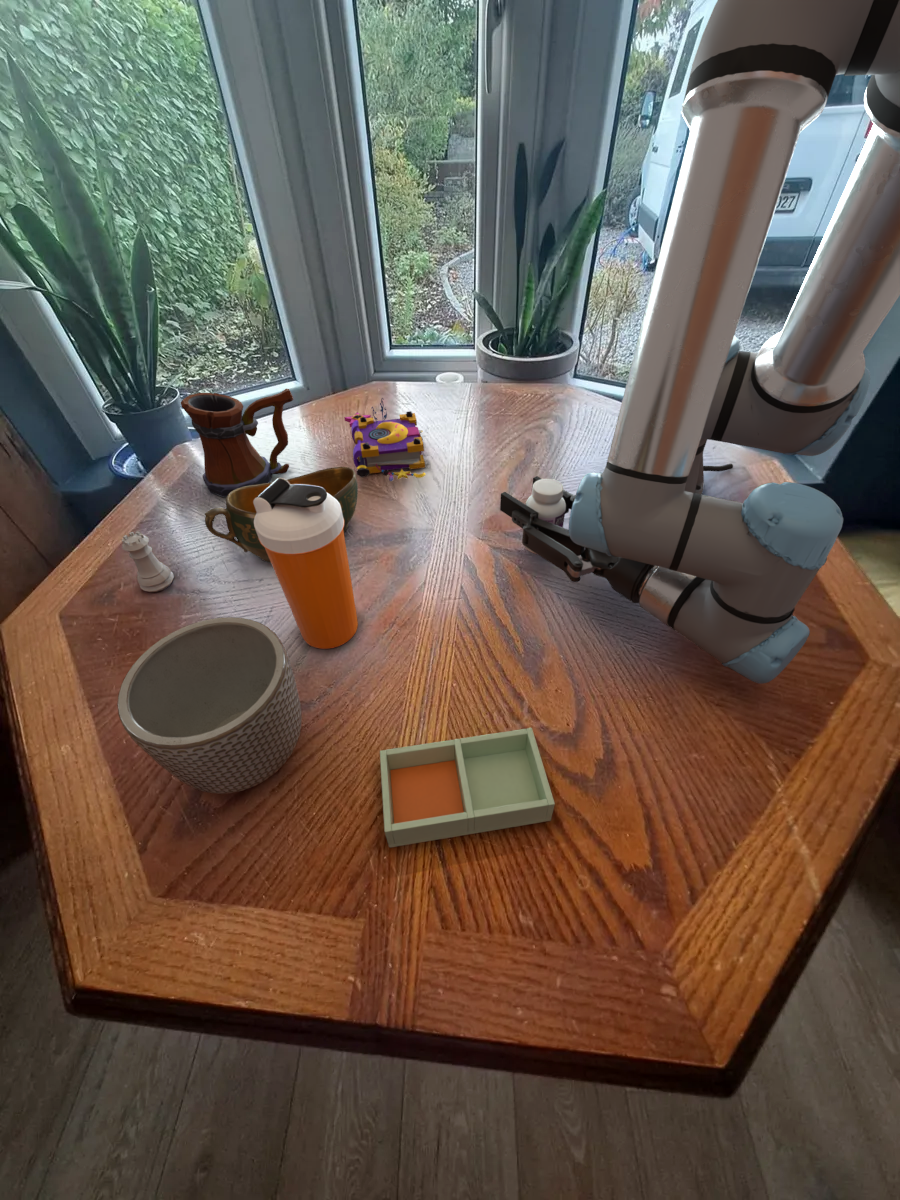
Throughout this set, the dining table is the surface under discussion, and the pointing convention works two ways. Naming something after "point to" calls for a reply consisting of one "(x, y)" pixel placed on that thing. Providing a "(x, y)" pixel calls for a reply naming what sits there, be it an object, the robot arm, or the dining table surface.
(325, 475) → the creamer
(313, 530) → the shaker bottle
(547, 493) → the pill bottle
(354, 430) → the book
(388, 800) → the tray
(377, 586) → the dining table surface
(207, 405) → the mug
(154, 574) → the rook chess piece
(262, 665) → the planter
